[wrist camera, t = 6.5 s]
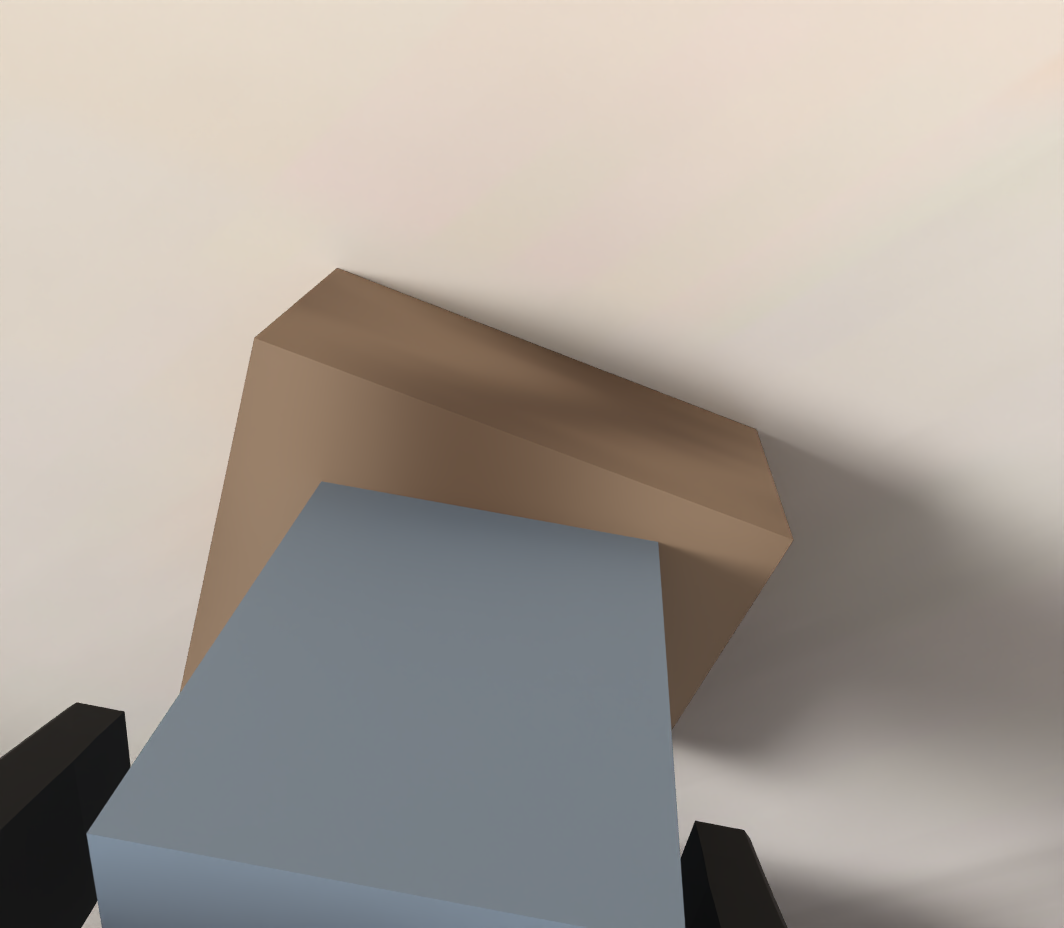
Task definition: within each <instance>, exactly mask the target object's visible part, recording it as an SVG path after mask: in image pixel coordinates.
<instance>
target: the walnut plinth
mask: <svg viewBox="0 0 1064 928" xmlns="http://www.w3.org/2000/svg"><path fill="white" fill-rule="evenodd" d="M321 481H322V482H328V483H334V484H339V485H345V486H350V487H356V488H361V489H367V490H372V491H378V492H384V493H389V494H395V495H400V496H406V497H411V498H417V499H422V500H428V501H434V502H439V503H445V504H450V505H456V506H461V507H467V508H472V509H478V510H484V511H489V512H495V513H500V514H506V515H511V516H517V517H522V518H528V519H534V520H539V521H545V522H550V523H556V524H561V525H567V526H573V527H578V528H584V529H589V530H595V531H600V532H606V533H611V534H617V535H623V536H628V537H634V538H639V539H645V540H650V541H656V542H658V546H659V560H660V575H661V589H662V603H663V618H664V632H665V646H666V660H667V675H668V689H669V703H670V718H671V730H672V729H673V727H674V726H675V724H676V722H677V721H678V719H679V718H680V716H681V715H682V713H683V712H684V710H685V708H686V707H687V705H688V704H689V702H690V701H691V699H692V697H693V696H694V694H695V693H696V691H697V690H698V688H699V687H700V685H701V683H702V682H703V680H704V679H705V677H706V676H707V674H708V673H709V671H710V669H711V668H712V666H713V665H714V663H715V662H716V660H717V658H718V657H719V655H720V654H721V652H722V651H723V649H724V648H725V646H726V644H727V643H728V641H729V640H730V638H731V637H732V635H733V634H734V632H735V630H736V629H737V627H738V626H739V624H740V623H741V621H742V619H743V618H744V616H745V615H746V613H747V612H748V610H749V609H750V607H751V605H752V604H753V602H754V601H755V599H756V598H757V596H758V595H759V593H760V591H761V590H762V588H763V587H764V585H765V584H766V582H767V580H768V579H769V577H770V576H771V574H772V573H773V571H774V570H775V568H776V566H777V565H778V563H779V562H780V560H781V559H782V557H783V556H784V554H785V552H786V551H787V549H788V548H789V546H790V545H791V543H792V541H793V537H792V534H791V531H790V528H789V525H788V522H787V519H786V516H785V513H784V510H783V507H782V504H781V501H780V498H779V495H778V492H777V489H776V486H775V483H774V480H773V477H772V474H771V471H770V468H769V465H768V462H767V459H766V456H765V454H764V451H763V448H762V445H761V442H760V439H759V436H758V433H757V430H756V429H754V428H751V427H749V426H746V425H743V424H741V423H738V422H736V421H733V420H730V419H728V418H725V417H723V416H720V415H717V414H715V413H712V412H710V411H707V410H704V409H702V408H699V407H697V406H694V405H691V404H689V403H686V402H684V401H681V400H678V399H676V398H673V397H671V396H668V395H665V394H663V393H660V392H658V391H655V390H653V389H650V388H647V387H645V386H642V385H640V384H637V383H634V382H632V381H629V380H627V379H624V378H621V377H619V376H616V375H614V374H611V373H608V372H606V371H603V370H601V369H598V368H595V367H593V366H590V365H588V364H585V363H582V362H580V361H577V360H575V359H572V358H569V357H567V356H564V355H562V354H559V353H556V352H554V351H551V350H549V349H546V348H543V347H541V346H538V345H536V344H533V343H531V342H528V341H525V340H523V339H520V338H518V337H515V336H512V335H510V334H507V333H505V332H502V331H499V330H497V329H494V328H492V327H489V326H486V325H484V324H481V323H479V322H476V321H473V320H471V319H468V318H466V317H463V316H460V315H458V314H455V313H453V312H450V311H447V310H445V309H442V308H440V307H437V306H434V305H432V304H429V303H427V302H424V301H421V300H419V299H416V298H414V297H411V296H409V295H406V294H403V293H401V292H398V291H396V290H393V289H390V288H388V287H385V286H383V285H380V284H377V283H375V282H372V281H370V280H367V279H364V278H362V277H359V276H357V275H354V274H351V273H349V272H346V271H344V270H341V269H338V268H337V269H335V270H334V271H333V272H332V273H331V274H329V275H328V276H327V277H326V278H325V279H323V280H322V281H321V282H320V283H319V284H318V285H316V286H315V287H314V288H313V289H312V290H310V291H309V292H308V293H307V294H306V295H305V296H303V297H302V298H301V299H300V300H299V301H297V302H296V303H295V304H294V305H293V306H292V307H290V308H289V309H288V310H287V311H286V312H284V313H283V314H282V315H281V316H280V317H278V318H277V319H276V320H275V321H274V322H273V323H271V324H270V325H269V326H268V327H267V328H265V329H264V330H263V331H262V332H261V333H260V334H258V335H257V336H256V337H255V338H254V342H253V347H252V351H251V356H250V361H249V366H248V370H247V375H246V380H245V385H244V389H243V394H242V399H241V404H240V409H239V413H238V418H237V423H236V428H235V432H234V437H233V442H232V447H231V451H230V456H229V461H228V466H227V471H226V475H225V480H224V485H223V490H222V494H221V499H220V504H219V509H218V513H217V518H216V523H215V528H214V533H213V537H212V542H211V547H210V552H209V556H208V561H207V566H206V571H205V575H204V580H203V585H202V590H201V594H200V599H199V604H198V609H197V614H196V618H195V623H194V628H193V633H192V637H191V642H190V647H189V652H188V656H187V661H186V666H185V671H184V676H183V680H182V685H181V690H180V692H181V691H182V689H183V688H184V686H185V685H186V683H187V682H188V680H189V679H190V677H191V676H192V674H193V673H194V671H195V670H196V668H197V667H198V665H199V664H200V662H201V661H202V659H203V658H204V656H205V655H206V653H207V652H208V650H209V649H210V647H211V646H212V644H213V643H214V641H215V640H216V638H217V637H218V635H219V634H220V632H221V631H222V629H223V628H224V626H225V625H226V623H227V622H228V620H229V619H230V617H231V616H232V614H233V613H234V611H235V610H236V608H237V607H238V605H239V604H240V602H241V601H242V599H243V598H244V596H245V595H246V593H247V592H248V590H249V589H250V587H251V586H252V584H253V583H254V581H255V580H256V578H257V577H258V575H259V574H260V572H261V571H262V569H263V568H264V566H265V565H266V563H267V562H268V560H269V559H270V557H271V556H272V554H273V553H274V552H275V550H276V549H277V547H278V546H279V544H280V543H281V541H282V540H283V538H284V537H285V535H286V534H287V532H288V531H289V529H290V528H291V526H292V525H293V523H294V522H295V520H296V519H297V517H298V516H299V514H300V513H301V511H302V510H303V508H304V507H305V505H306V504H307V502H308V501H309V499H310V498H311V496H312V495H313V493H314V492H315V490H316V489H317V487H318V486H319V484H320V483H321Z"/></svg>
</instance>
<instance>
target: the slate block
mask: <svg viewBox="0 0 1064 928" xmlns="http://www.w3.org/2000/svg"><path fill="white" fill-rule="evenodd" d="M86 834H87V840H88V846H89V852H90V858H91V864H92V870H93V876H94V882H95V888H96V894H97V900H98V906H99V912H100V918H101V924H102V928H685V918H684V904H683V889H682V875H681V861H680V846H679V832H678V818H677V804H676V789H675V775H674V761H673V746H672V732H671V718H670V703H669V689H668V675H667V660H666V646H665V632H664V618H663V603H662V589H661V575H660V560H659V546H658V542H656V541H650V540H645V539H639V538H634V537H628V536H623V535H617V534H611V533H606V532H600V531H595V530H589V529H584V528H578V527H573V526H567V525H561V524H556V523H550V522H545V521H539V520H534V519H528V518H522V517H517V516H511V515H506V514H500V513H495V512H489V511H484V510H478V509H472V508H467V507H461V506H456V505H450V504H445V503H439V502H434V501H428V500H422V499H417V498H411V497H406V496H400V495H395V494H389V493H384V492H378V491H372V490H367V489H361V488H356V487H350V486H345V485H339V484H334V483H328V482H322V481H321V483H320V484H319V486H318V487H317V489H316V490H315V492H314V493H313V495H312V496H311V498H310V499H309V501H308V502H307V504H306V505H305V507H304V508H303V510H302V511H301V513H300V514H299V516H298V517H297V519H296V520H295V522H294V523H293V525H292V526H291V528H290V529H289V531H288V532H287V534H286V535H285V537H284V538H283V540H282V541H281V543H280V544H279V546H278V547H277V549H276V550H275V552H274V553H273V554H272V556H271V557H270V559H269V560H268V562H267V563H266V565H265V566H264V568H263V569H262V571H261V572H260V574H259V575H258V577H257V578H256V580H255V581H254V583H253V584H252V586H251V587H250V589H249V590H248V592H247V593H246V595H245V596H244V598H243V599H242V601H241V602H240V604H239V605H238V607H237V608H236V610H235V611H234V613H233V614H232V616H231V617H230V619H229V620H228V622H227V623H226V625H225V626H224V628H223V629H222V631H221V632H220V634H219V635H218V637H217V638H216V640H215V641H214V643H213V644H212V646H211V647H210V649H209V650H208V652H207V653H206V655H205V656H204V658H203V659H202V661H201V662H200V664H199V665H198V667H197V668H196V670H195V671H194V673H193V674H192V676H191V677H190V679H189V680H188V682H187V683H186V685H185V686H184V688H183V689H182V691H181V692H180V694H179V695H178V697H177V698H176V700H175V701H174V703H173V704H172V706H171V707H170V709H169V710H168V712H167V713H166V715H165V716H164V718H163V719H162V721H161V722H160V724H159V725H158V727H157V728H156V730H155V731H154V733H153V734H152V736H151V737H150V739H149V740H148V742H147V743H146V745H145V746H144V748H143V749H142V751H141V752H140V754H139V755H138V757H137V758H136V760H135V761H134V763H133V764H132V766H131V767H130V769H129V770H128V772H127V773H126V775H125V776H124V778H123V779H122V781H121V782H120V784H119V785H118V787H117V788H116V790H115V791H114V793H113V794H112V796H111V797H110V799H109V800H108V802H107V803H106V805H105V806H104V808H103V809H102V811H101V812H100V814H99V815H98V817H97V818H96V820H95V821H94V823H93V824H92V826H91V827H90V829H89V830H88V832H87V833H86Z"/></svg>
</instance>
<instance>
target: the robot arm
mask: <svg viewBox="0 0 1064 928" xmlns="http://www.w3.org/2000/svg"><path fill="white" fill-rule="evenodd" d="M129 769H130V758H129V749H128V740H127V731H126V722H125V712H124V711H119V710H114V709H108V708H103V707H98V706H93V705H88V704H82V703H75V704H74V705H72V706H70V707H69V708H67V709H66V710H65V711H63V712H62V713H61V714H59V715H58V716H56V717H55V718H54V719H52V720H51V721H50V722H48V723H47V724H45V725H44V726H43V727H41V728H40V729H39V730H37V731H36V732H35V733H33V734H32V735H31V736H29V737H28V738H27V739H25V740H24V741H23V742H21V743H20V744H18V745H17V746H16V747H14V748H13V749H12V750H10V751H9V752H8V753H6V754H5V755H4V756H2V757H1V758H0V928H81V927H82V926H83V924H84V922H85V921H86V919H87V917H88V916H89V914H90V913H91V911H92V909H93V908H94V906H95V904H96V902H97V894H96V888H95V882H94V876H93V870H92V864H91V858H90V852H89V846H88V840H87V834H86V833H87V832H88V830H89V829H90V827H91V826H92V824H93V823H94V821H95V820H96V818H97V817H98V815H99V814H100V812H101V811H102V809H103V808H104V806H105V805H106V803H107V802H108V800H109V799H110V797H111V796H112V794H113V793H114V791H115V790H116V788H117V787H118V785H119V784H120V782H121V781H122V779H123V778H124V776H125V775H126V773H127V772H128V770H129ZM680 861H681V875H682V889H683V904H684V918H685V928H787V926H786V923H785V921H784V919H783V917H782V914H781V912H780V910H779V907H778V905H777V903H776V900H775V898H774V896H773V893H772V891H771V889H770V886H769V884H768V882H767V879H766V877H765V874H764V872H763V869H762V867H761V865H760V862H759V860H758V857H757V855H756V852H755V850H754V847H753V845H752V842H751V840H750V838H749V836H748V835H747V834H746V832H745V831H744V830H741V829H735V828H730V827H725V826H720V825H715V824H709V823H704V822H699V821H695V823H694V825H693V828H692V830H691V833H690V836H689V838H688V841H687V843H686V846H685V849H684V851H683V854H682V856H681V859H680Z"/></svg>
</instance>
